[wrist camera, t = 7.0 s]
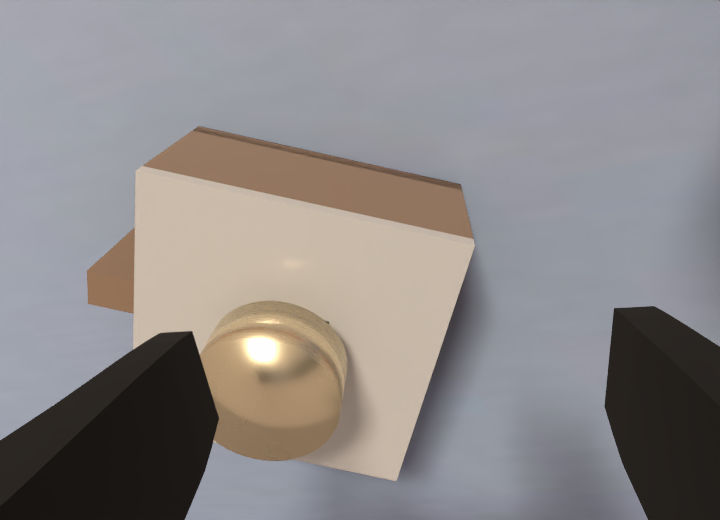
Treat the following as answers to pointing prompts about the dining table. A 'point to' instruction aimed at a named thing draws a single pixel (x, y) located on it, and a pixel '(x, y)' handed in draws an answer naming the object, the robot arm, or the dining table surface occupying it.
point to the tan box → (300, 268)
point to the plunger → (275, 380)
